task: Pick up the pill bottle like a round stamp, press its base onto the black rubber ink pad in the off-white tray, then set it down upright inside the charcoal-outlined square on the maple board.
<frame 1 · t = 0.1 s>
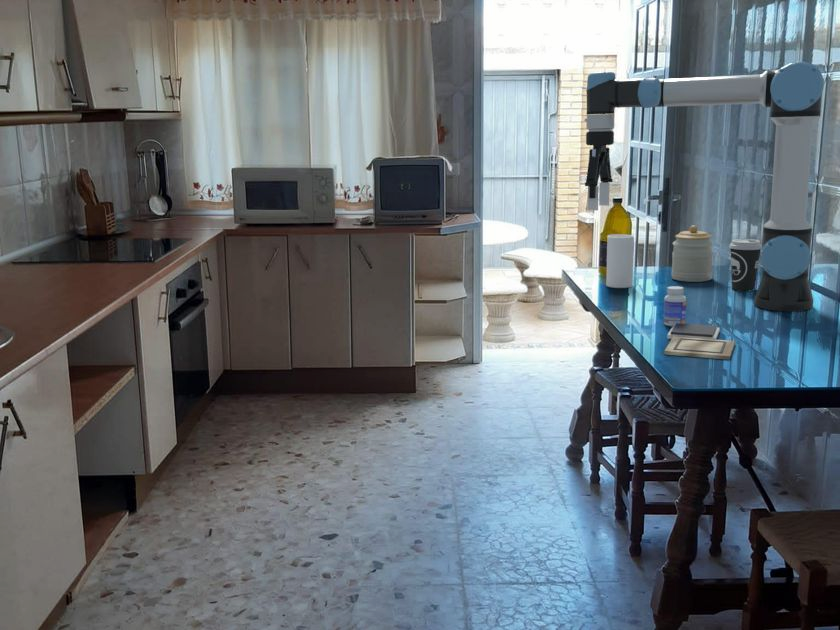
hand: (598, 207, 241), 28 cm above the table, fingers open, 13 cm apart
coffee cup: (743, 289, 263), on the table
pill bottle: (674, 325, 222), on the table
marked board: (700, 349, 198), on the table
ink pad: (693, 335, 210), on the table
jar: (691, 279, 283), on the table
cup: (619, 286, 275), on the table
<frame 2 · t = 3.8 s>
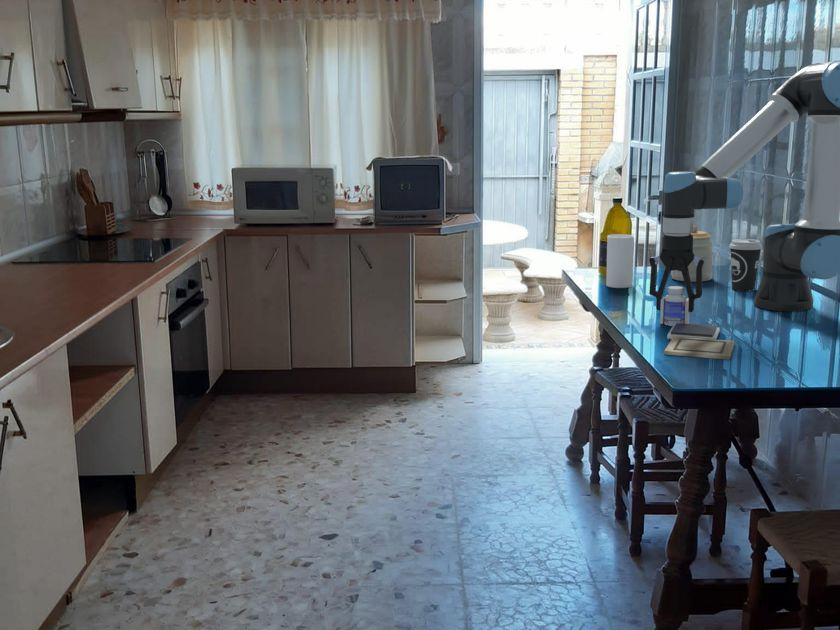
hand: (674, 323, 222), 0 cm above the table, fingers closed on pill bottle, 5 cm apart
pill bottle: (674, 325, 222), on the table, touching gripper
everything else where it was.
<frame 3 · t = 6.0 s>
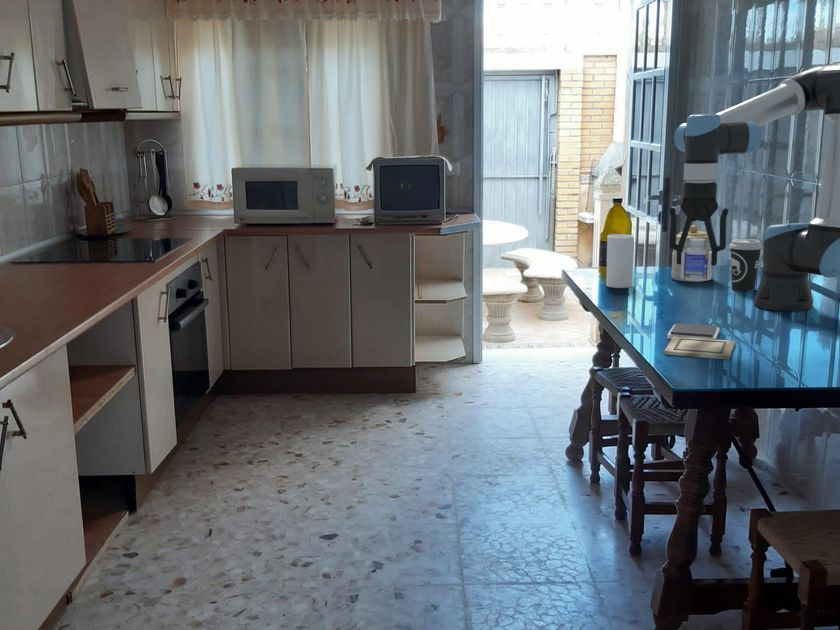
hand: (696, 278, 207), 14 cm above the table, fingers closed on pill bottle, 5 cm apart
pill bottle: (695, 280, 207), point 14 cm above the table, touching gripper
everything else where it was.
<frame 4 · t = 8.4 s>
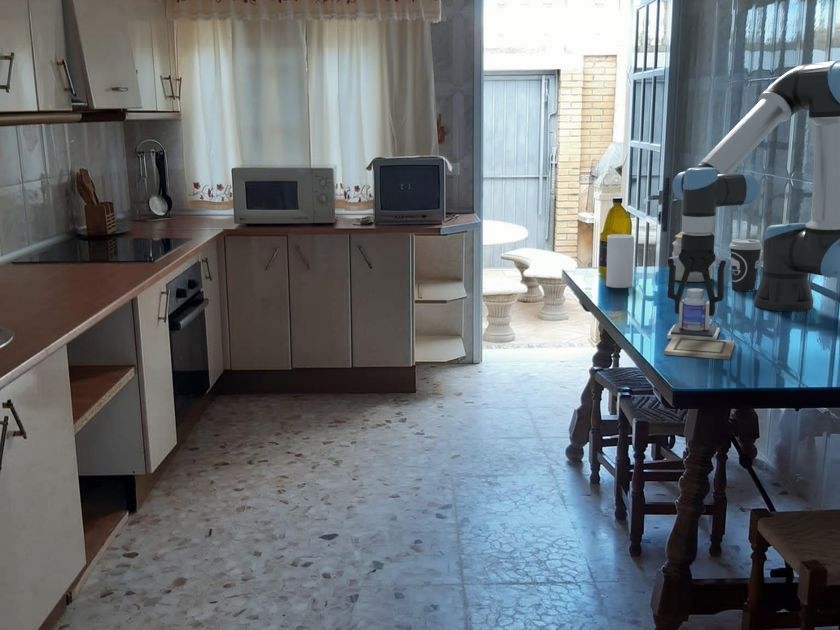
hand: (693, 327, 210), 2 cm above the table, fingers closed on pill bottle, 5 cm apart
pill bottle: (693, 329, 210), point 1 cm above the table, touching gripper, ink pad
everything else where it was.
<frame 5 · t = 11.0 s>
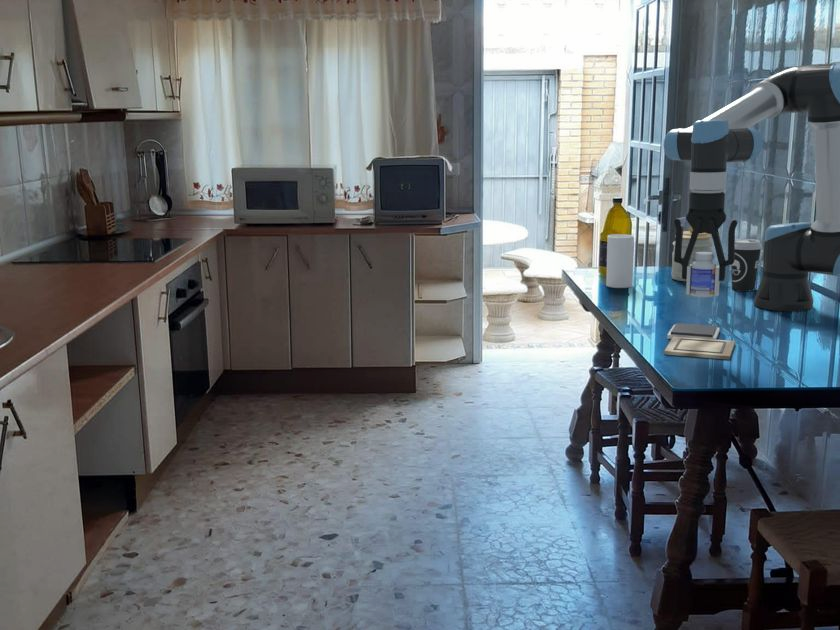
hand: (702, 294, 195), 13 cm above the table, fingers closed on pill bottle, 5 cm apart
pill bottle: (702, 296, 195), point 12 cm above the table, touching gripper
everything else where it was.
when the fingers open (2 cm above the table, at t = 13.1 s): pill bottle stays where it is, resting on marked board.
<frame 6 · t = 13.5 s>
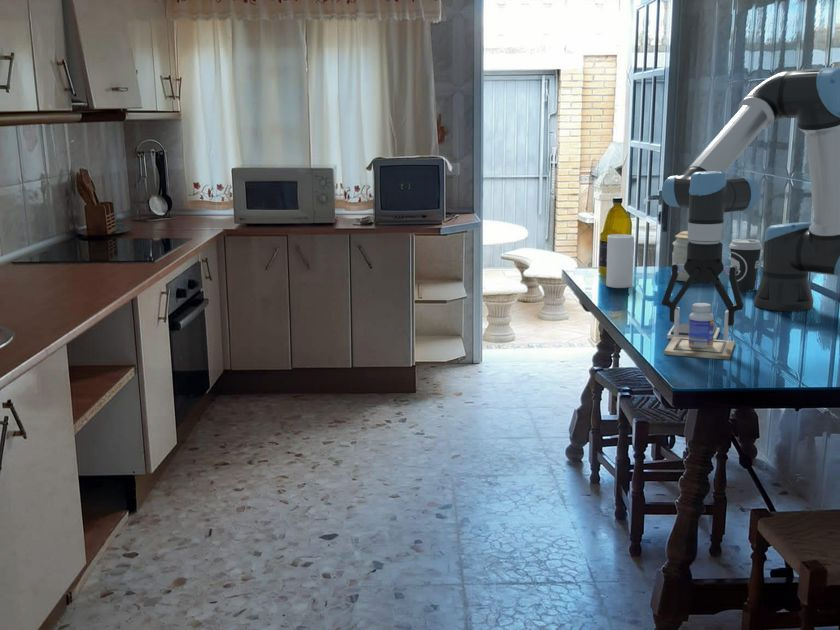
hand: (700, 337, 197), 3 cm above the table, fingers open, 10 cm apart
pill bottle: (700, 346, 198), point 1 cm above the table, touching marked board
everything else where it was.
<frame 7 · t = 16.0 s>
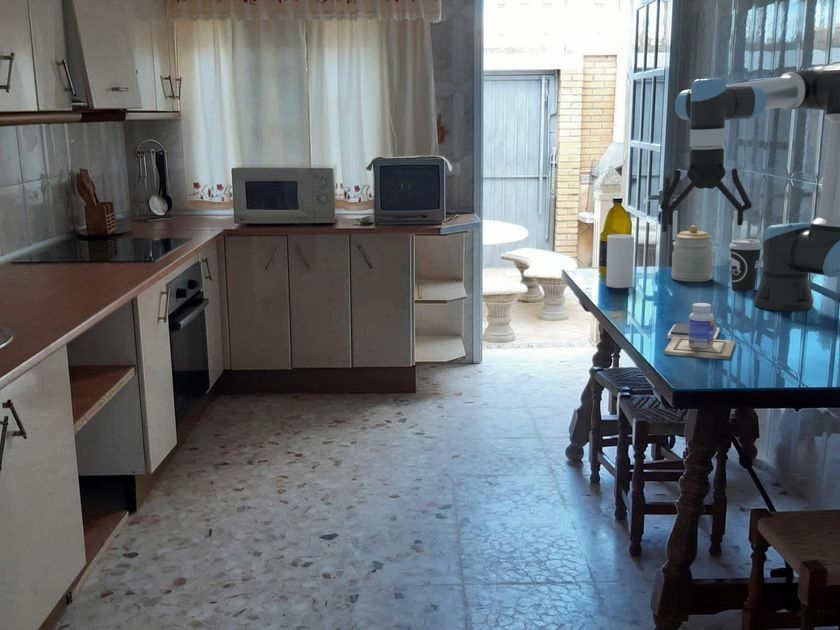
hand: (704, 239, 203), 24 cm above the table, fingers open, 13 cm apart
nothing on the table moved.
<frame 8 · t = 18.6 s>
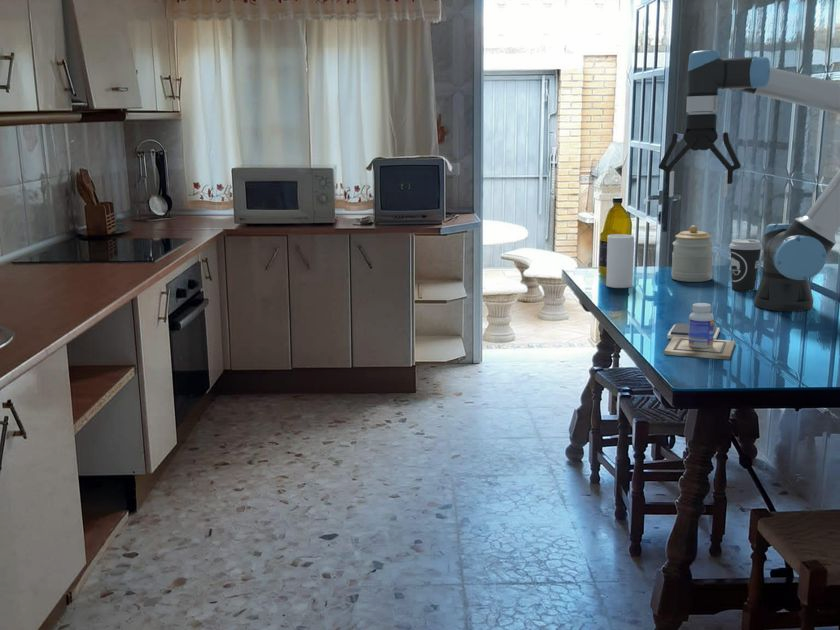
hand: (697, 196, 225), 32 cm above the table, fingers open, 13 cm apart
nothing on the table moved.
at the end: pill bottle inside the target area on the marked board (0.0 cm from its centre), point 0.6 cm above the marked board's base; pill bottle tilted 0°; the gripper is holding nothing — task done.
